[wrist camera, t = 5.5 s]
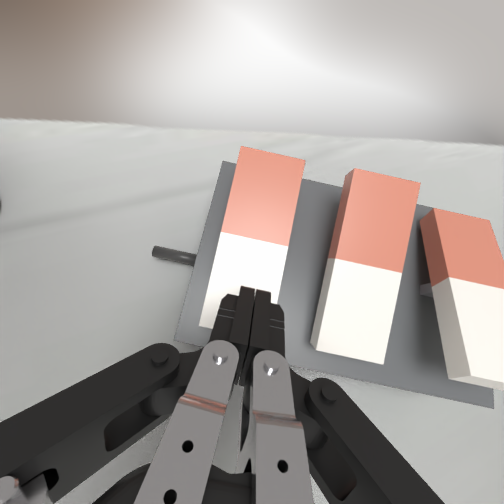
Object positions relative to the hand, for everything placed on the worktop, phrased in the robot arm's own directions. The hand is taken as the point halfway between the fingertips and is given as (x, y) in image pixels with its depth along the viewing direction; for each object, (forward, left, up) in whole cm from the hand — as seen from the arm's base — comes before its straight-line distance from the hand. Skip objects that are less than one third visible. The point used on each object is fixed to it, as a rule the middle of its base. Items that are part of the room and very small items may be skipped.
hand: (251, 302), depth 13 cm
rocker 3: (+10, +13, -5) cm, 18 cm away
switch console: (+1, +7, -18) cm, 19 cm away
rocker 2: (+4, +8, -5) cm, 11 cm away
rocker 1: (-3, +4, -5) cm, 7 cm away
